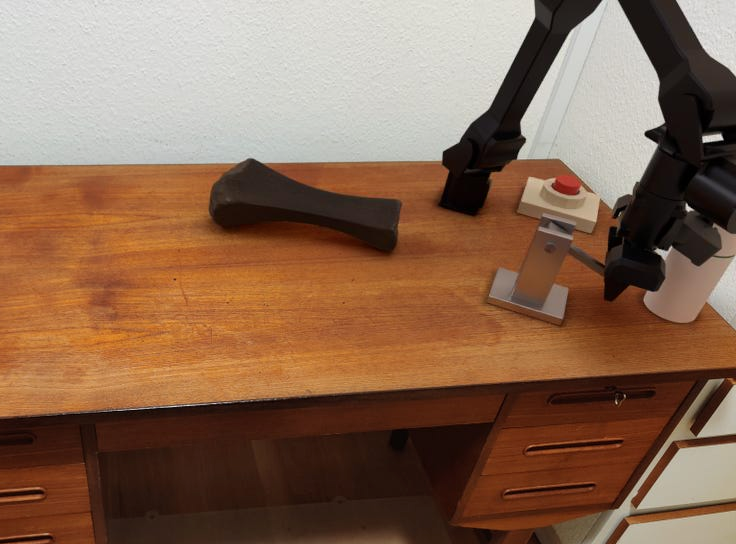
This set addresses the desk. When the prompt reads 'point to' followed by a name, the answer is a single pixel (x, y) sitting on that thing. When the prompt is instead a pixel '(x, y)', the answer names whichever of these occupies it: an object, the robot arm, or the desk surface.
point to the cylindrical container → (690, 282)
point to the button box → (559, 203)
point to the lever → (580, 253)
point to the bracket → (537, 275)
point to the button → (566, 185)
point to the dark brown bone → (300, 205)
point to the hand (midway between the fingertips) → (608, 294)
